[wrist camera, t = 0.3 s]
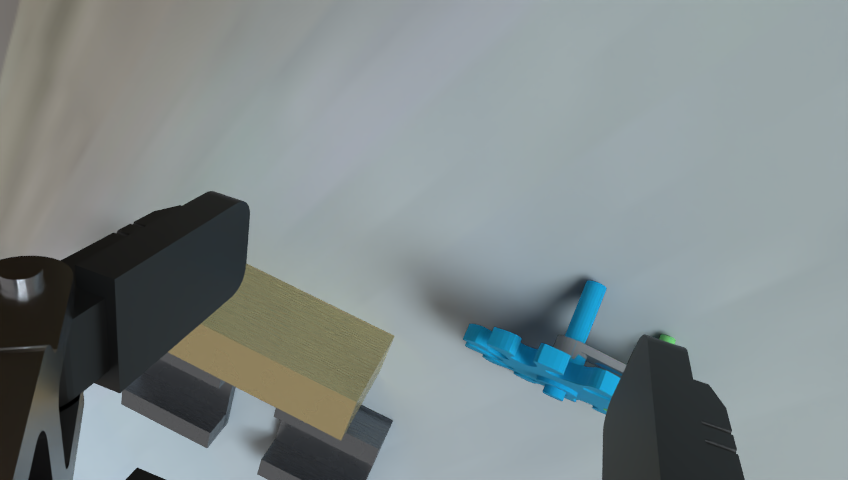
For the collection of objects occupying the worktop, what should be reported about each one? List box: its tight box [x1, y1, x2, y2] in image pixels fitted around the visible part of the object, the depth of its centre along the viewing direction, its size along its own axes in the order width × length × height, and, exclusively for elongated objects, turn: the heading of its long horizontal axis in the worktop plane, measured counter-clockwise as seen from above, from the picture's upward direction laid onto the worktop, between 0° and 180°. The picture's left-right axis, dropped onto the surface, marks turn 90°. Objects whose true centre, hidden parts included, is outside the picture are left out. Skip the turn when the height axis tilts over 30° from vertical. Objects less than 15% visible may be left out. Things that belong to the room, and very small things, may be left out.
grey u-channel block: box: [121, 352, 393, 480], centre depth 40 cm, size 8×18×2 cm, turn 71°
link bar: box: [168, 264, 394, 440], centre depth 34 cm, size 3×14×6 cm, turn 71°
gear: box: [463, 280, 676, 414], centre depth 29 cm, size 11×6×10 cm
